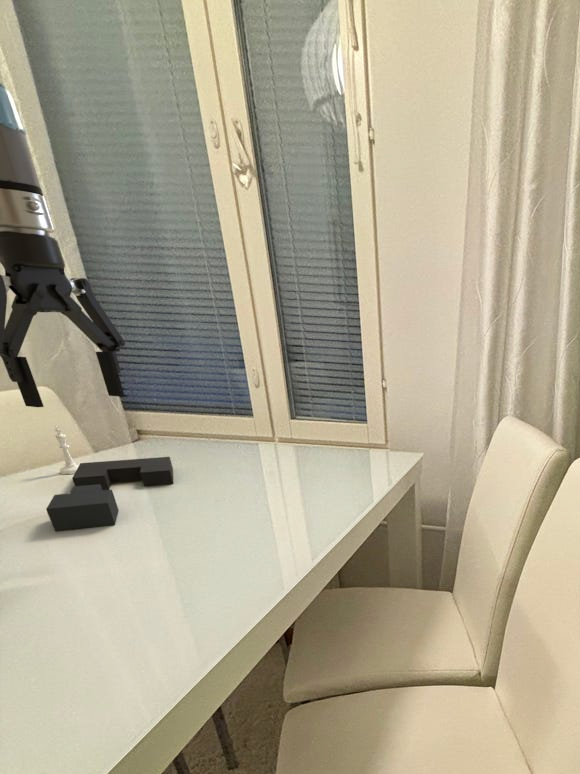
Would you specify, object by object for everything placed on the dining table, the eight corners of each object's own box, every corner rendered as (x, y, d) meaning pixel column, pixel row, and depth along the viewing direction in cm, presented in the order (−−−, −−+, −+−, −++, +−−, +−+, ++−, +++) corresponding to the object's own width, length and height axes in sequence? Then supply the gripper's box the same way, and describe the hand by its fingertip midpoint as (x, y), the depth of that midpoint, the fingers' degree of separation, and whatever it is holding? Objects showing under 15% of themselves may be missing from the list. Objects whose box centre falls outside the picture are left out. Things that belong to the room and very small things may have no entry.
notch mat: (77, 492, 114) (71, 478, 112) (85, 476, 124) (80, 463, 123) (173, 483, 120) (169, 470, 119) (173, 469, 131) (169, 456, 130)
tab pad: (54, 531, 94) (45, 508, 92) (66, 508, 104) (58, 487, 102) (115, 524, 97) (107, 502, 95) (120, 503, 108) (113, 482, 106)
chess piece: (66, 475, 125) (49, 429, 120) (56, 472, 127) (39, 426, 122) (89, 471, 128) (74, 426, 123) (79, 467, 131) (63, 423, 125)
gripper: (-65, 219, 64) (12, 413, 75) (123, 243, 84) (161, 393, 95) (-105, 220, 66) (-25, 409, 77) (87, 243, 86) (129, 390, 97)
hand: (78, 401), depth 86 cm, fingers open, 13 cm apart
